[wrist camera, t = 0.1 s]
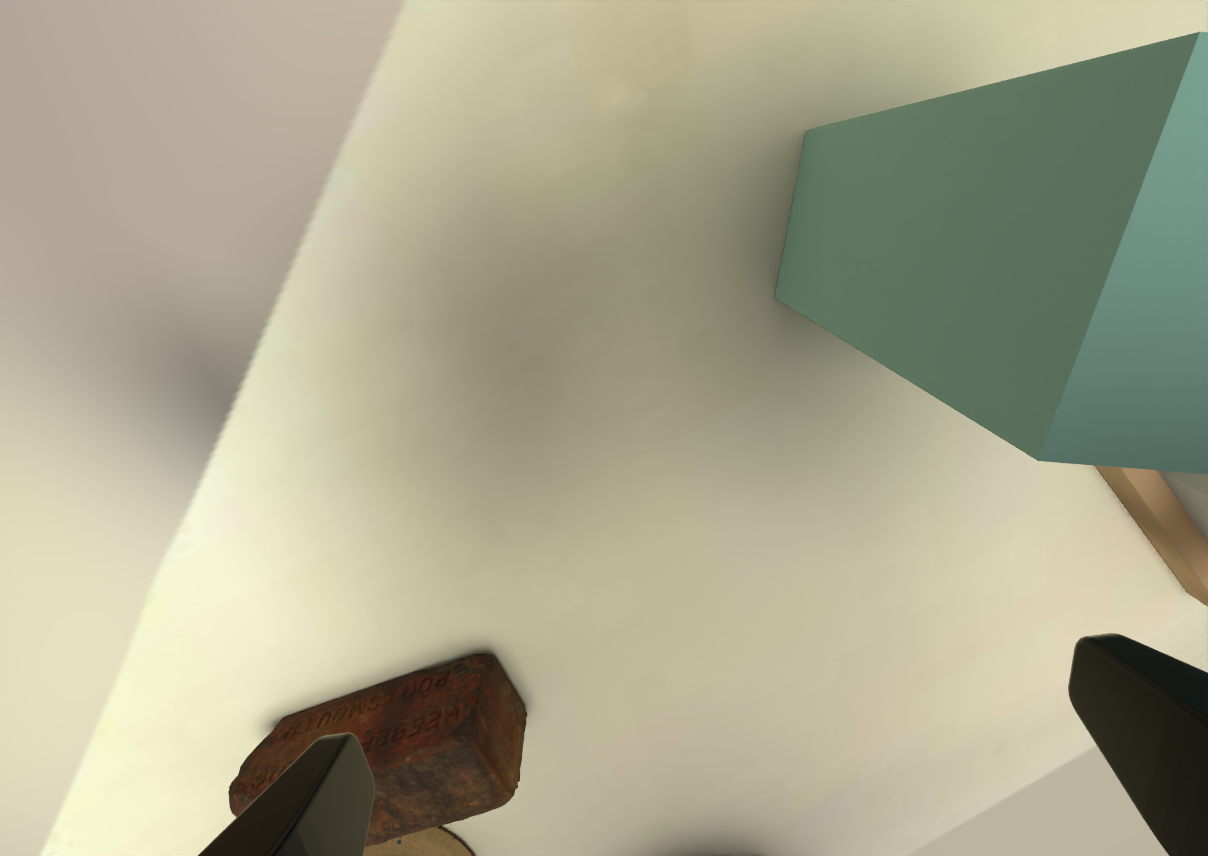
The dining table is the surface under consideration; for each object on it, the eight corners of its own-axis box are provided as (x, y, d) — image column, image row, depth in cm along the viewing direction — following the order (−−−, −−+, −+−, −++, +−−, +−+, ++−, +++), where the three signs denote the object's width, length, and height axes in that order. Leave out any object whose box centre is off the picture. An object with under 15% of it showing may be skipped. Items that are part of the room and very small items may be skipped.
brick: (489, 638, 26) (467, 732, 21) (530, 707, 27) (517, 808, 23) (267, 716, 27) (204, 819, 23) (317, 778, 28) (266, 886, 24)
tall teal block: (922, 311, 21) (1383, 488, 9) (774, 297, 21) (1038, 460, 8) (966, 147, 19) (1629, 83, 7) (806, 130, 19) (1199, 32, 7)
